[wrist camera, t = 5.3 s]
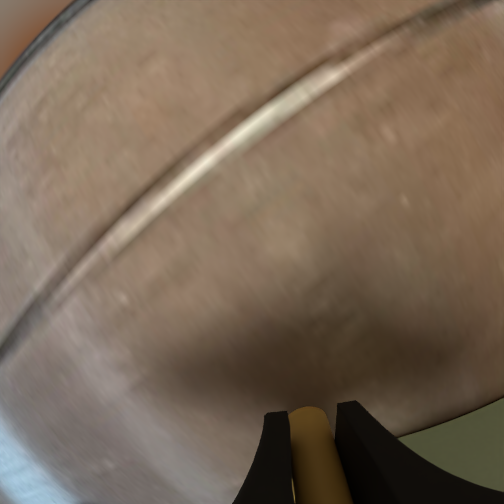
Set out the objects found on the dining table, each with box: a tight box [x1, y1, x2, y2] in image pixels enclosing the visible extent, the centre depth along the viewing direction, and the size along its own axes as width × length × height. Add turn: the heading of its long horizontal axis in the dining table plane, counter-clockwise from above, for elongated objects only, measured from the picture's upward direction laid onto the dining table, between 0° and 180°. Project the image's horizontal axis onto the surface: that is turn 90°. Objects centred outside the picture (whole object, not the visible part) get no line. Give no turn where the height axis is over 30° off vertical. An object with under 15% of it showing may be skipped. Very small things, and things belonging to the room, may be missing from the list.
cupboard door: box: [288, 398, 504, 504], centre depth 9 cm, size 6×16×9 cm, turn 96°
